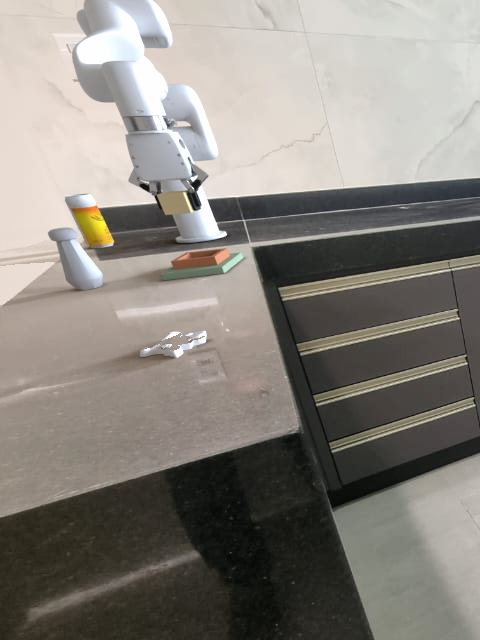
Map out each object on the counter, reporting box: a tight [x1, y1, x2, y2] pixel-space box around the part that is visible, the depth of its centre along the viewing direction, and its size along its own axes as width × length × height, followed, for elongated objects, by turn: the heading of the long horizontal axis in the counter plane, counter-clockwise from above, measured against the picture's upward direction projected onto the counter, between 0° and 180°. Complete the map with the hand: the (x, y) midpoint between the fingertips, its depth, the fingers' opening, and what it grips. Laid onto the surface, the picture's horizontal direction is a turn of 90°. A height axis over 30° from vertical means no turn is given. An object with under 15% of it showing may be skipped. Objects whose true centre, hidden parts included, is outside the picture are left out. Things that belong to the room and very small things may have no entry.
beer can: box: [64, 193, 115, 249], centre depth 156 cm, size 6×6×15 cm
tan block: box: [157, 190, 194, 216], centre depth 122 cm, size 6×5×4 cm
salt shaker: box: [47, 226, 104, 291], centre depth 114 cm, size 6×6×13 cm
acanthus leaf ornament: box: [139, 330, 207, 359], centre depth 82 cm, size 8×7×2 cm
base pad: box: [159, 247, 244, 282], centre depth 128 cm, size 16×12×4 cm
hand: (182, 210), depth 123 cm, fingers closed on tan block, 5 cm apart
